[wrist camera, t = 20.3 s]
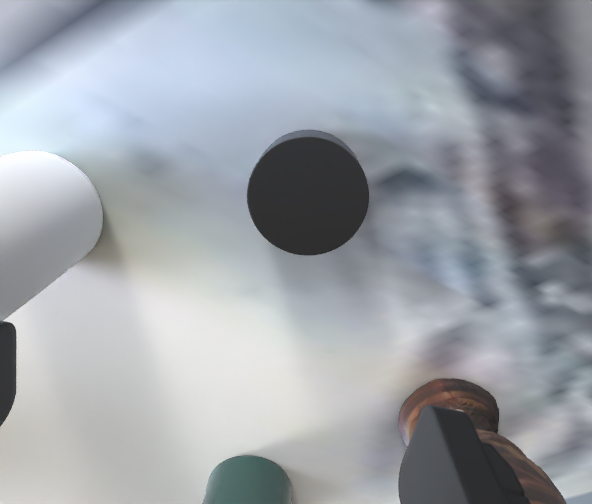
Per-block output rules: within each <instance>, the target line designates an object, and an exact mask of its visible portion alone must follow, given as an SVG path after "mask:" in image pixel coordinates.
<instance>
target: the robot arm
mask: <svg viewBox="0 0 592 504" xmlns="http://www.w3.org/2000/svg"><path fill="white" fill-rule="evenodd" d="M15 395H16V329H15V327H14V325H13V324H12V323H9V322H4V321H0V426H1V425H2V424H3V422H4V421H5V419H6V418H7V416H8V414H9V412H10V410H11V408H12V405H13V402H14V399H15ZM524 493H525V491H524V490H523V488H522V486H521V484H520V482H519V480H518V478H517V476H516V474H515V472H514V470H513V468H512V467H511V466H510V464H509V463H508V462H507V461H506V460H505V459H504V458H503V457H502V456H501V455H500V454H499V453H498V451H497V450H496V449H495V448H494V447H493V446H492V445H491V444H489V443H483V442H481V440H480V438H479V436H478V434H477V432H476V430H475V427H474V425H473V423H472V421H471V419H470V417H469V415H468V414H467V413H466V412H463V411H458V410H453V409H448V408H443V407H438V406H432V405H426V406H425V407H424V408H423V409H422V411H421V413H420V416H419V418H418V421H417V423H416V426H415V429H414V431H413V434H412V437H411V439H410V442H409V445H408V447H407V450H406V453H405V455H404V458H403V461H402V464H401V467H400V472H399V498H400V503H401V504H531V503H530V501H529V499H528V497H525V496H524Z"/></svg>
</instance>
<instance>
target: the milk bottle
mask: <svg viewBox="0 0 592 504" xmlns="http://www.w3.org/2000/svg"><path fill="white" fill-rule="evenodd" d="M102 225H103V210H102V206H101V200H100V198H99V196H98V193H97V191H96V189H95V187H94V186H93V184H92V183H91V181H90V179H89V178H88V177H87V176H86V175H85V174H84V173H83V172H82V171H81V170H80V169H78V168H77V167H76V166H75V165H73V164H72V163H70V162H69V161H67V160H65V159H63V158H61V157H59V156H57V155H54V154H51V153H48V152H43V151H23V152H18V153H13V154H8V155H4V156H0V321H3V320H4V319H6V318H7V317H8V316H10V315H11V314H12V313H13V312H15V311H16V310H17V309H19V308H20V307H21V306H23V305H24V304H25V303H26V302H28V301H29V300H30V299H32V298H33V297H34V296H36V295H37V294H38V293H39V292H41V291H42V290H43V289H44V288H46V287H47V286H48V285H50V284H51V283H52V282H53V281H55V280H56V279H57V278H58V277H60V276H61V275H62V274H64V273H65V272H66V271H67V270H69V269H70V268H71V267H72V266H74V265H75V264H76V263H77V262H79V261H80V260H81V259H82V258H83V257H84V256H86V255H87V254H88V253H89V252H90V251H91V250H92V249H93V247H94V246H95V245H96V243H97V241H98V239H99V237H100V234H101V231H102Z"/></svg>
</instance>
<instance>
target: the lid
mask: <svg viewBox="0 0 592 504" xmlns="http://www.w3.org/2000/svg"><path fill="white" fill-rule="evenodd" d="M368 202H369V191H368V184H367V180H366V177H365V174H364V172H363V169H362V168H361V166H360V164H359V162H358V160H357V158H356V156H355V155H354V153H353V152H352V151H351V149H350V148H349V147H348V146H347V145H346V144H345V143H344V142H342V141H341V140H340V139H338V138H336V137H335V136H333V135H330V134H328V133H325V132H321V131H316V130H301V131H295V132H292V133H289V134H287V135H284V136H282V137H281V138H279V139H277V140H276V141H275V142H274V143H272V144H271V145H270V146H269V147H268V148H267V149H266V150H265V152H264V153H263V155H262V156H261V158H260V159H259V161H258V162H257V164H256V166H255V168H254V169H253V171H252V174H251V177H250V179H249V184H248V189H247V203H248V208H249V212H250V215H251V218H252V220H253V222H254V224H255V226H256V227H257V229H258V231H259V232H260V233H261V234H262V235H263V236H264V238H266V239H267V240H268V241H269V242H270V243H272V244H273V245H275V246H276V247H278V248H280V249H282V250H284V251H287V252H289V253H293V254H298V255H318V254H323V253H326V252H329V251H332V250H334V249H336V248H338V247H340V246H341V245H343V244H344V243H346V242H347V241H348V240H349V239H350V238H351V237H352V236H353V235H354V234H355V233H356V232H357V230H358V229H359V227H360V226H361V224H362V222H363V220H364V218H365V215H366V212H367V208H368Z"/></svg>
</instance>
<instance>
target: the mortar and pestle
mask: <svg viewBox="0 0 592 504" xmlns="http://www.w3.org/2000/svg"><path fill="white" fill-rule="evenodd" d="M426 405H432V406H438V407H443V408H448V409H453V410H458V411H463V412H466V413H467V414H468V415H469V417H470V419H471V421H472V423H473V425H474V427H475V430H476V432H477V434H478V436H479V438H480V440H481V442H483V443H489V444H491V445H492V446H493V447H494V448H495V449H496V450H497V451H498V453H499V454H500V455H501V456H502V457H503V458H504V459H505V460H506V461H507V462H508V463H509V464H510V466H511V467H512V468H513V470H514V472H515V474H516V476H517V478H518V480H519V482H520V484H521V486H522V488H523V490H524V491H525V493H524V496H525V497H528V499H529V501H530V503H531V504H566V502H565V500H564V498H563V496H562V495H561V493H560V492H559V490H558V489H557V488H556V486H555V485H554V484H553V482H552V481H551V480H550V478H549V477H548V475H547V474H546V473H545V472H544V471H543V470H542V469H541V468H540V467H539V466H537V465H536V464H535V463H534V462H532V461H531V460H530V459H528V458H527V457H526V456H525V454H524V453H523V452H522V451H521V450H520V449H519V448H518V447H517V446H516V445H515V444H513V443H512V442H511V441H509V440H508V439H506V438H505V437H503V436H501V435H498V434H497V431H498V422H499V409H498V407H497V404H496V400H495V399H494V397H493V396H492V395H491V394H490V393H489V392H488V391H486V390H485V389H483V388H482V387H480V386H478V385H476V384H473V383H470V382H467V381H465V380H460V379H438V380H434V381H432V382H429V383H427V384H426V385H424V386H422V387H420V388H419V389H417V390H416V391H415V392H414V393H413V394H412V395H411V396H410V397H409V398H408V399H407V400H406V401H405V403H404V404H403V406H402V408H401V410H400V413H399V429H400V432H401V434H402V437H403V440H404V442H405V445H406V447H408V445H409V442H410V439H411V437H412V434H413V431H414V429H415V426H416V423H417V421H418V418H419V416H420V413H421V411H422V409H423V408H424V407H425V406H426Z"/></svg>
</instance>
